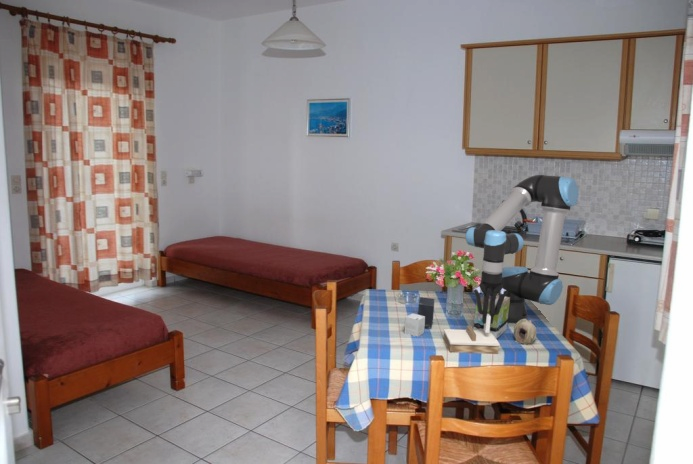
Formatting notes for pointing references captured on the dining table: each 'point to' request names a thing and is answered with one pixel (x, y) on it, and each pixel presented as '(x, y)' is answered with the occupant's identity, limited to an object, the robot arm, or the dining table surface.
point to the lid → (470, 337)
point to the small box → (426, 311)
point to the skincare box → (414, 324)
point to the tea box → (498, 320)
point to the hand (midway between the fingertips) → (486, 331)
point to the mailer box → (471, 348)
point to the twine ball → (524, 331)
